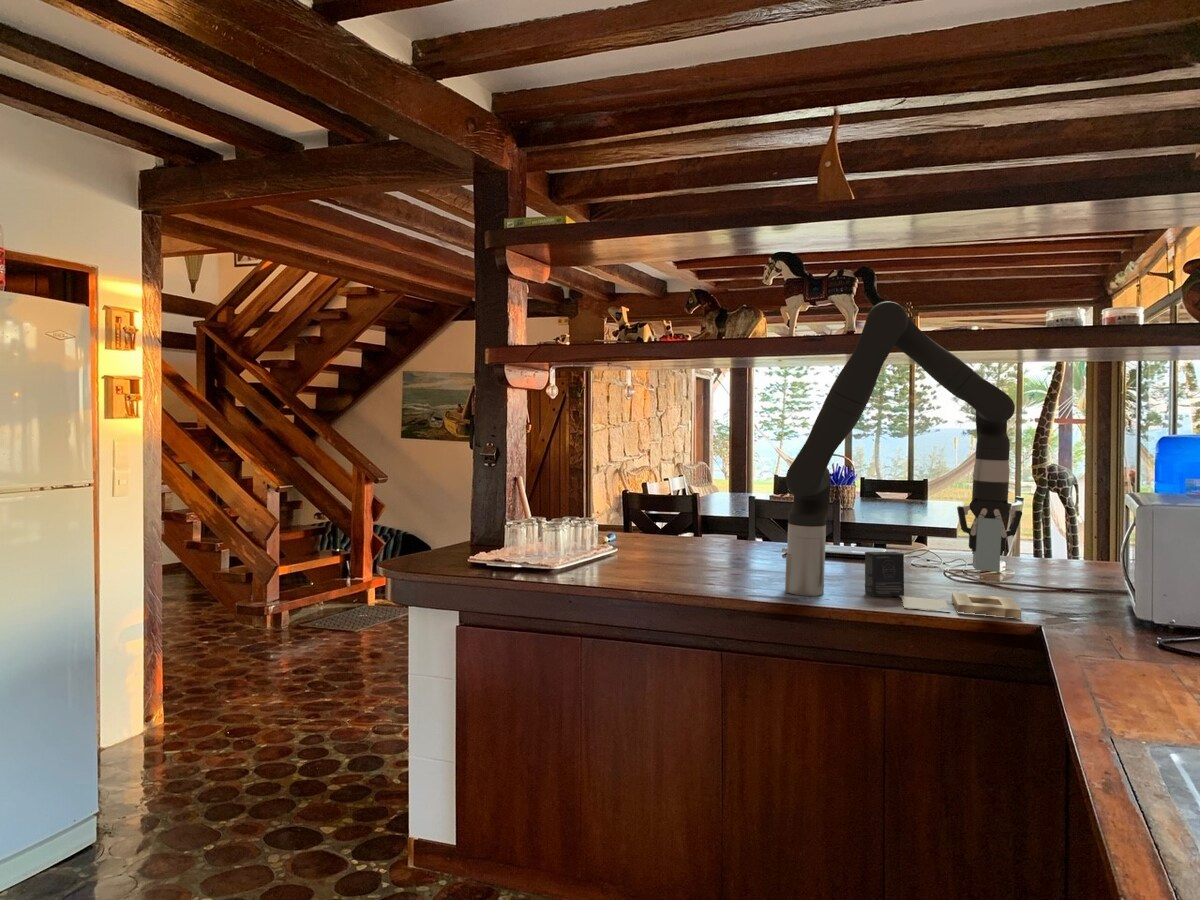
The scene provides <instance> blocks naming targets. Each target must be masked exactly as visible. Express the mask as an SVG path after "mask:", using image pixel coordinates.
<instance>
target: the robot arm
mask: <svg viewBox="0 0 1200 900" xmlns="http://www.w3.org/2000/svg"><path fill="white" fill-rule="evenodd" d="M894 347H895V348H896V349H898V350H899V351H901V352H902V353H903V354H905V355H906V356H907V357H909V358H910V359H912V360H913V361H914V362H915V363H916V364H917V365H919V367H921V369H922V370H924V372H926V373H927V374H928V375H929V376H930V377H931V378H932V379H933V380H935V381H936V382H937V383H938V384H939V385H941V386H942V387H943V388H944V389H946V390H947V391H948V392H949V393H950V394H952V395H953V396H954V397H955V398H957V399H959V400H962V401H964V402H965V403H966V404H968V405H969V406H971V408H973V409H974V410H975V427H976V428H975V429H976V430H975V431H976V445H975V460H974V465H973V472H972V473H973V474H972V491H971V501H970V503H969V505H964V506H963V505H962V506H961V505H958V506H957V507H956V510H957V516H958V521H959V525H960V530H961V531H962V532H964V533H965V534H968V548H969V549H970V550H971V552H972V553H973V552H975V551H976V533H977V524H978V518H980V517H981V518H996V519H1002V533H1001V550H1000V555H1001V554H1003V552H1005V551H1006V546H1007V538H1009V537H1011V536H1012V537H1014V536H1015V535H1017V531H1018V528H1019V525H1020V521H1021V518H1022V516H1023V512H1022V511H1021V510H1020V509H1015V508H1012V507H1011V506H1010V505H1009V489H1010V449H1011V447H1010V446H1011V443H1010V438H1009V435H1008V434H1007V433H1008V421H1009V420H1010V419H1011V418H1013V416H1014V414H1015V410H1016V409H1015V408H1016V406H1015V403H1014V400H1013V399H1012V397H1011V396H1010V395H1008V394H1007V393H1006V392H1004V391H1003V390H1001V389H1000V388H999V387H998V386H996V385H995V384H993V383H991V382H989V381H988V380H986V379H984V378H983V377H982V376H980V374H979V373H977V372H976V371H975V370H974V369H972V367H970V366H969V365H968V364H966V363H965V362H964V361H963V360H961V359H960V358H959V357H957V356H956V355H955V354H953V353H952V352H950V351H949V350H947V349H946V348H944V347H943V346H941V345H940V344H938V343H937V342H936V341H934V340H933V339H932V338H930V337H929V336H928V335H927V334H926V333H925V332H923V331H922V330H921V329H920V328H919V327H918V326H917V325H916V324H915V323H914V321H912V319H911V318H910V317H909V315H908V314H907V312H906V310H905V308H904V307H903V306H902V305H901V304H899V303H898V302H895V301H881V302H878V303H877V304H875V305H874V306H873V307H871V309H870V310H869V311H868V313H867V316H866V319H865V322H864V325H863V328H862V331H861V334H860V337H859V339H858V340H857V344H856V346H855V347H854V350H853V352H852V354H851V356H850V357H849V359H848V360H847V362H846V363H845V365H844V366H843V367H842V369H841V370H840V372H839V374H838V375H837V377H836V379H835V381H834V382H833V384H832V386H831V387H830V389H829V392H828V393H827V396H826V398H825V400H824V402H823V404H822V407H821V408H820V411H819V413H818V415H817V417H816V419H815V421H814V423H813V425H812V428H811V430H810V433H809V435H808V437H807V439H806V440H805V442H804V443H803V446H802V447H801V449H800V450H799V452H798V453H797V455H796V457H795V459H794V460H793V461H792V463H791V464H790V465H789V467H788V470H787V471H786V474H785V485H786V487H787V490H788V491H789V493H790V494H791V495H792V496H793V503H792V506H791V508H790V510H789V511H788V517H787V519H788V520H787V548H786V550H787V551H786V556H785V578H784V581H785V582H784V583H785V584H784V588H785V589H784V593H785V594H786V593H787V594H792V595H797V596H810V597H811V596H821V595H824V592H825V591H824V590H825V565H826V563H825V562H826V533H827V518H828V514H829V512H830V501H831V485H832V484H831V473H830V470H829V468H828V465H829V463H830V461H831V459H832V458H833V455H834V453H835V452H836V451H837V449H838V448H839V446H840V445H841V444H842V442H843V441H845V439H846V438H847V437H848V436H849V434H850V433H851V432H852V430H853V429H854V428H855V427H856V425H857V424H858V422H859V420H860V419H861V416H863V415H862V414H863V412H864V411H865V409H866V407H867V405H868V404H869V400H870V399H871V397H872V394H873V391H874V389H875V387H876V384H877V381H878V378H879V375H880V373H881V370H882V368H883V365H884V364H885V361H886V360H887V358H888V356H889V355H890V353H891V351H892V350H893V348H894ZM969 511H971V513H972V514H973V516H974V519H973V521H972V524H971V526H970V527H968V523H967V519H966V516H967V515H968V513H969ZM1008 513H1009V517H1011V520H1010V521H1011V522H1010V524H1009V528H1008V529H1006V528H1005V524H1004V521H1003V519H1004V518H1005V517H1006V516H1007V514H1008ZM977 517H978V518H977ZM976 518H977V520H976Z"/></svg>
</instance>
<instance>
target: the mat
mask: <svg viewBox="0 0 1200 900" xmlns="http://www.w3.org/2000/svg"><path fill="white" fill-rule="evenodd" d="M900 597H901V598H900V599H901V603H902V602H903V603H902V606H904V607H903V609H904V608H914V609H927V610H928V609H929V610H935V609H940V608H943V607H944V608H946V607H947V608H949V609H950V607H949V605H948V602H947V601H946V599H940V598H939V599H938V598H937V599H936V598H928V597H927V598H925V597H912V596H900Z"/></svg>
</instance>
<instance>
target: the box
mask: <svg viewBox="0 0 1200 900" xmlns="http://www.w3.org/2000/svg"><path fill="white" fill-rule="evenodd" d="M904 555H905V554H904V553H903V552H898V551H865V552H864V581H865V582H864V592H865V594H867V595H869V596H872V597H899V596H900V597H901V596H903V597H905V569H904V568H905V563H904V562H905V561H904V560H905V557H904Z"/></svg>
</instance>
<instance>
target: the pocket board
mask: <svg viewBox="0 0 1200 900" xmlns="http://www.w3.org/2000/svg"><path fill="white" fill-rule="evenodd" d="M952 602H953V603H952ZM951 603H952V605H953V604H954V605H953V607H954V606H955V608H956V609H957V611H958V612H964V613H975V614H986V615H996V616H1005V617H1013V618H1020V619H1021V620H1022V609H1021V607H1020V606H1019V605H1018V604H1017V603H1016V601H1015V600H1014V599H1013V598H1012V597H1008V596H997V595H996V596H994V595H985V594H983V595H982V594H970V593H958V592H957V593H956V592H952V593H951ZM955 608H954V609H955Z"/></svg>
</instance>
